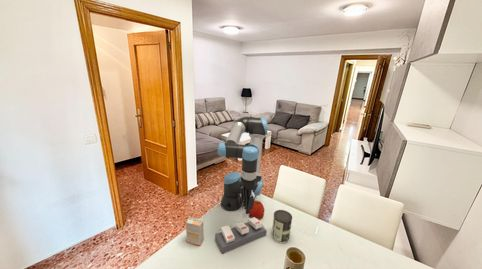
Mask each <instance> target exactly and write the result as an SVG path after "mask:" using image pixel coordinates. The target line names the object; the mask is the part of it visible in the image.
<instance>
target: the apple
mask: <svg viewBox="0 0 482 269" xmlns="http://www.w3.org/2000/svg"><path fill="white" fill-rule="evenodd" d="M264 214H265V207H264V205H263V203H262V201H259V200H255V201H254V205H253V208H252V209H250V211H249V216H250V218H254V217H255V218H256V219H258V220H260V219H262V218H263V217H264Z"/></svg>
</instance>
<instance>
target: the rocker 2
mask: <svg viewBox="0 0 482 269" xmlns="http://www.w3.org/2000/svg"><path fill="white" fill-rule="evenodd" d="M234 227H235V228H236V229H237V230H238V231H239V232H240V233H241V234H245V233H248V232H249V228H248V227H247V226H246V225H245V224H244V222H242V221H240V222H237V223H234Z"/></svg>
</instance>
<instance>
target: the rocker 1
mask: <svg viewBox="0 0 482 269" xmlns="http://www.w3.org/2000/svg"><path fill="white" fill-rule="evenodd" d="M230 228H231V227H230V225H229V224H228V225H225V226H221V228H220V232H222V234H223V236H224V239H225V241H226V243H229V242H232V241H234V239H235V237H234V235H233V233H232V231H231V229H230Z"/></svg>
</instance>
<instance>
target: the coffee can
mask: <svg viewBox="0 0 482 269" xmlns="http://www.w3.org/2000/svg"><path fill="white" fill-rule="evenodd" d="M272 221H273V222H272V230H271V237H272V239H273V240H274V241H275V242H277V243H280V244H287V243H288V242H289V241H290V236H291V228H292V223H293V222H292V221H293V215H292V213H290V212H289V211H288V210H285V209H277V210H275V211H274V212H273V220H272Z"/></svg>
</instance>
